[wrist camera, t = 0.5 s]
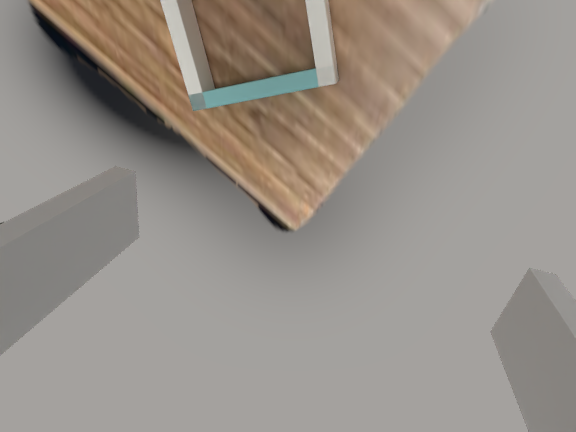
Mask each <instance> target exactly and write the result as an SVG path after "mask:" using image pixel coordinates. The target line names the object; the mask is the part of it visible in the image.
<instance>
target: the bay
mask: <svg viewBox="0 0 576 432" xmlns="http://www.w3.org/2000/svg"><path fill="white" fill-rule="evenodd" d="M160 1H161V4H162V8H163V11H164V14H165V18H166V21H167V25H168V28H169V31H170V35H171V38H172V41H173V45H174V48H175V51H176V55H177V58H178V62H179V65H180V68H181V72H182V75H183V78H184V82H185V85H186V89H187V92H188V95H189V99H190V102H191V105H192V109H193V111H196V110H201V109H207V108H212V107H217V106H222V105H227V104H233V103H238V102H243V101H248V100H253V99H259V98H264V97H269V96H274V95H279V94H285V93H290V92H295V91H300V90H305V89H311V88H316V87H321V86H326V85H332V84H336V83H337V82H338V81H339V76H338V69H337V61H336V54H335V46H334V39H333V31H332V24H331V16H330V8H329V1H328V0H305V2H306V8H307V15H308V21H309V28H310V34H311V40H312V47H313V53H314V60H315V66H316V68H312V69H307V70H302V71H298V72H293V73H288V74H283V75H278V76H274V77H269V78H264V79H259V80H254V81H250V82H245V83H240V84H235V85H230V86H226V87H221V88H216V89H215V86H214V83H213V79H212V75H211V71H210V68H209V64H208V60H207V56H206V53H205V49H204V45H203V41H202V38H201V34H200V30H199V26H198V23H197V19H196V15H195V11H194V8H193V4H192V0H160Z"/></svg>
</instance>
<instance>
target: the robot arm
mask: <svg viewBox="0 0 576 432" xmlns="http://www.w3.org/2000/svg"><path fill="white" fill-rule="evenodd" d="M138 238H139V224H138V207H137V192H136V174H135V171H132V170H128V169H124V168H120V167H113V168H111V169H109V170H107V171H105V172H103V173H101V174H99V175H97V176H95V177H93V178H91V179H89V180H87V181H85V182H83V183H81V184H80V185H77V186H76V187H73V188H71V189H69V190H67V191H65V192H64V193H61V194H60V195H57V196H56V197H54V198H52V199H50V200H48V201H46V202H44V203H42V204H40V205H38V206H36V207H34V208H32V209H30V210H28V211H26V212H24V213H22V214H20V215H18V216H16V217H14V218H12V219H10V220H8V221H6V222H3V223H0V355H1V354H3V353H4V352H5V351H6V350H7V349H9V348H10V347H11V346H12V345H13V344H14V343H16V342H17V341H18V340H19V339H20V338H21V337H23V336H24V335H25V334H26V333H27V332H28V331H30V330H31V329H32V328H33V327H34V326H35V325H37V324H38V323H39V322H40V321H41V320H43V319H44V318H45V317H46V316H47V315H48V314H50V313H51V312H52V311H53V310H54V309H55V308H57V307H58V306H59V305H60V304H61V303H62V302H64V301H65V300H66V299H67V298H68V297H70V295H72V294H73V293H74V292H75V291H77V290H78V289H79V288H80V287H81V286H83V285H84V284H85V283H86V282H87V281H88V280H90V279H91V278H92V277H93V276H94V275H95V274H97V273H98V272H99V271H100V270H101V269H103V267H105V266H106V265H107V264H108V263H110V261H112V260H113V259H114V258H115V257H116V256H118V255H119V254H120V253H121V252H122V251H124V250H125V249H126V248H127V247H128V246H130V245H131V244H132V243H133V242H134V241H135V240H137V239H138ZM491 335H492V337H493V340H494V342H495V345H496V348H497V350H498V353H499V355H500V358H501V361H502V364H503V366H504V369H505V371H506V374H507V377H508V379H509V382H510V384H511V387H512V389H513V392H514V395H515V398H516V400H517V403H518V405H519V408H520V411H521V413H522V416H523V419H524V421H525V424H526V426H527V429H528V432H576V300H575V299H574V298H573V296H572V295H571V294H570V292H569V291H568V290H567V289H566V287H565V286H564V284H563V283H562V282H561V280H560V279H559V278H558V276H557V275H556V274H553V273H549V272H544V271H541V270H536V269H532V268H529V269H528V271H527V273H526V274H525V276H524V278H523V279H522V281H521V282H520V284H519V286H518V287H517V289H516V291H515V292H514V294H513V296H512V297H511V299H510V301H509V302H508V304H507V306H506V307H505V309H504V310H503V312H502V314H501V315H500V317H499V319H498V320H497V322H496V323H495V325H494V327H493V328H492V330H491Z"/></svg>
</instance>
